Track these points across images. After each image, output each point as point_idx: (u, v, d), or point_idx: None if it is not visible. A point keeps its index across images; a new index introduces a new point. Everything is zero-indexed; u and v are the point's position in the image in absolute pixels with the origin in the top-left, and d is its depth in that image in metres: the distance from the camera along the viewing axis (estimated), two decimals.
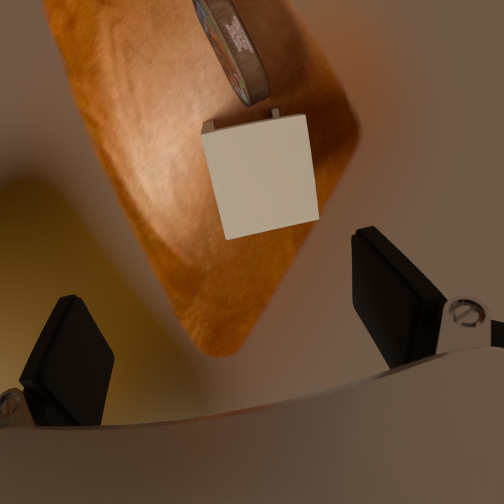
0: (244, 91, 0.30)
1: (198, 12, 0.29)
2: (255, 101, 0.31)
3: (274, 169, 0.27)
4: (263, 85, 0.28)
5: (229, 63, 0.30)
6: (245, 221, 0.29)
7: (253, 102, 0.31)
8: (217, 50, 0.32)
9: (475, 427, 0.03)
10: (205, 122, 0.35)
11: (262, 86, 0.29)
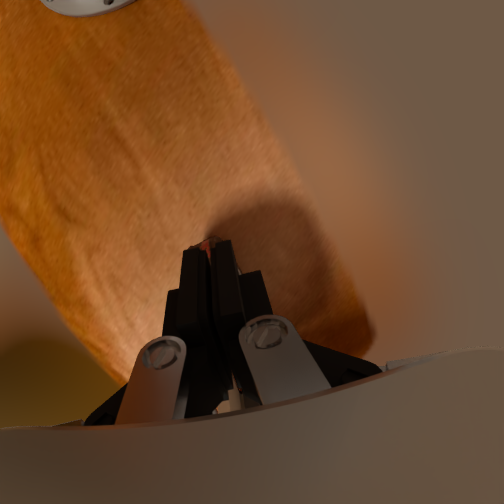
0: None
1: None
2: None
3: None
4: None
5: None
6: None
7: None
8: None
9: (475, 427, 0.03)
10: None
11: None
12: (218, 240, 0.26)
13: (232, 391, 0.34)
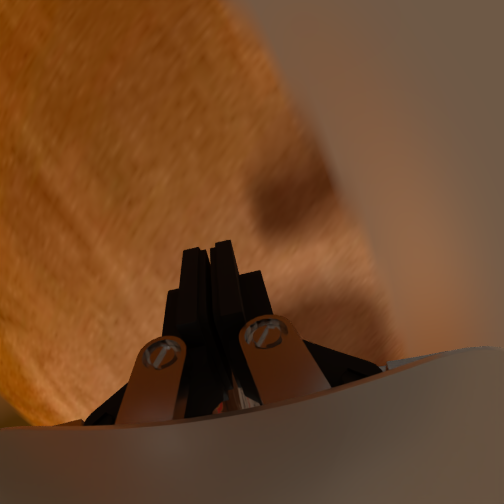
0: None
1: None
2: None
3: None
4: None
5: None
6: None
7: None
8: None
9: (475, 427, 0.03)
10: None
11: None
12: None
13: None
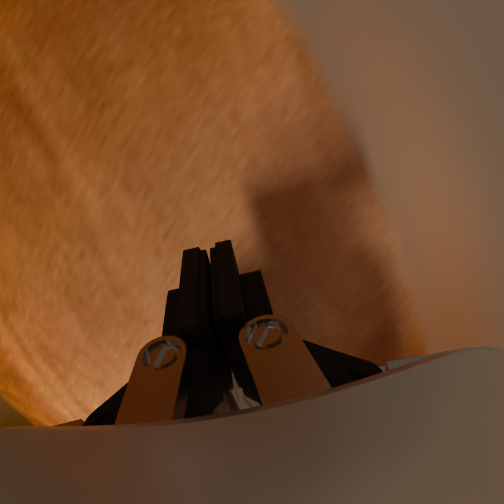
0: None
1: None
2: None
3: None
4: None
5: None
6: None
7: None
8: None
9: (475, 427, 0.03)
10: None
11: None
12: None
13: None
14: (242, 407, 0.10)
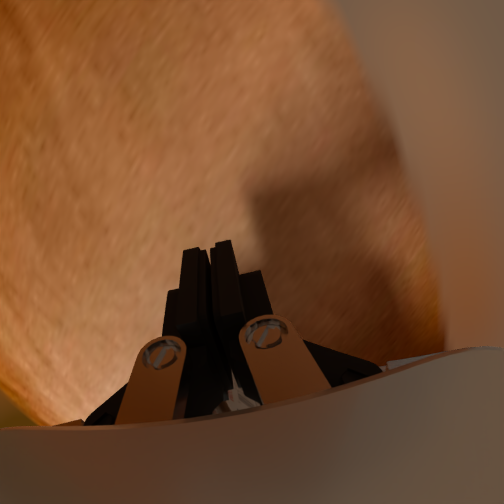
0: None
1: None
2: None
3: None
4: None
5: None
6: None
7: None
8: None
9: (475, 427, 0.03)
10: None
11: None
12: None
13: None
14: (235, 406, 0.10)
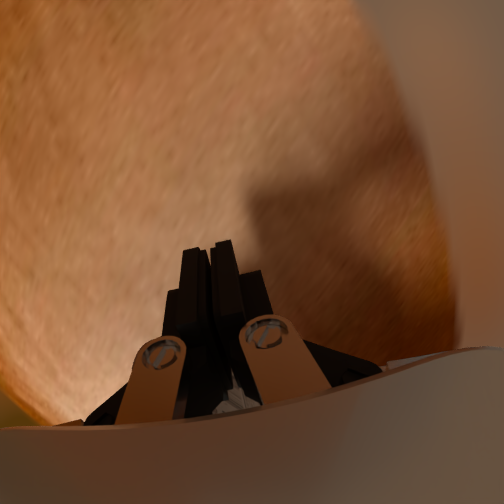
0: None
1: None
2: None
3: None
4: None
5: None
6: None
7: None
8: None
9: (475, 427, 0.03)
10: None
11: None
12: None
13: None
14: (220, 408, 0.10)
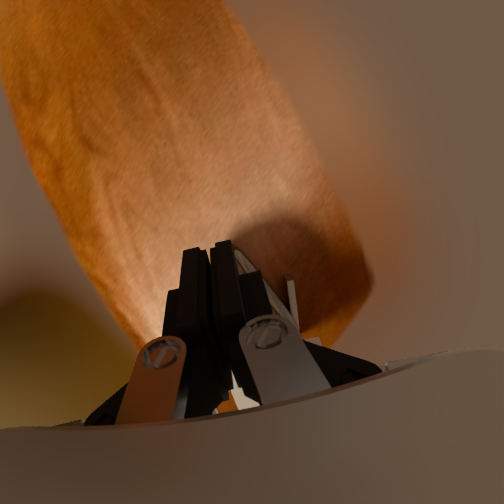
0: None
1: None
2: None
3: None
4: None
5: None
6: None
7: None
8: None
9: (475, 427, 0.03)
10: None
11: None
12: (233, 248, 0.33)
13: None
14: (245, 271, 0.31)
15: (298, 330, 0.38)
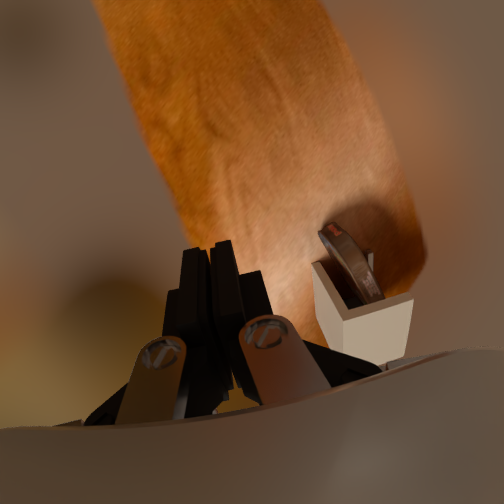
0: None
1: (320, 235, 0.41)
2: None
3: (385, 334, 0.35)
4: None
5: (353, 283, 0.42)
6: None
7: None
8: (337, 261, 0.44)
9: (475, 427, 0.03)
10: (315, 266, 0.43)
11: None
12: None
13: None
14: None
15: None
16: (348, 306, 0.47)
